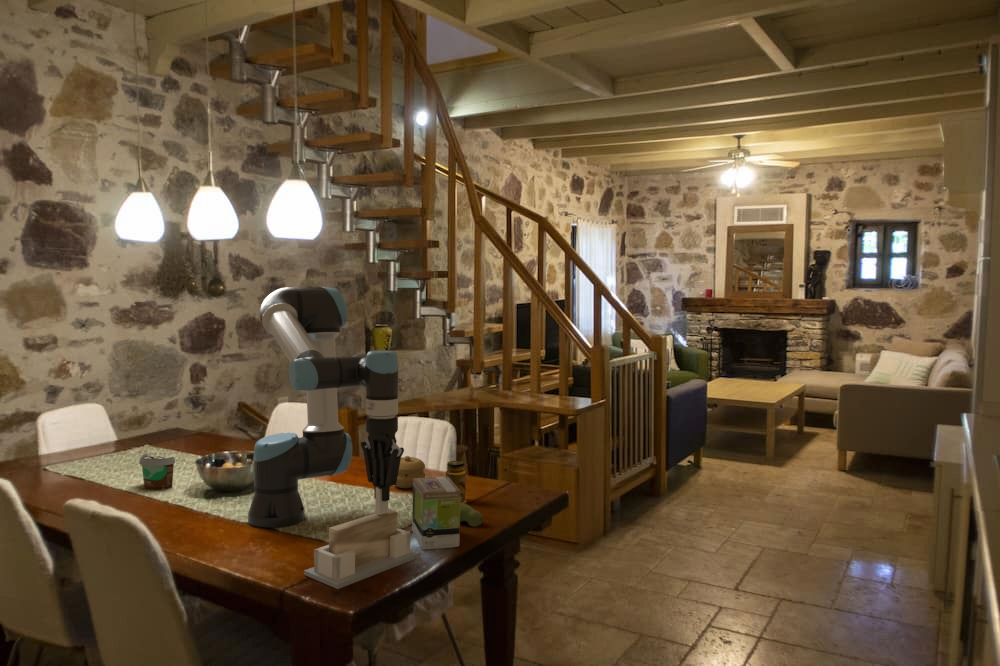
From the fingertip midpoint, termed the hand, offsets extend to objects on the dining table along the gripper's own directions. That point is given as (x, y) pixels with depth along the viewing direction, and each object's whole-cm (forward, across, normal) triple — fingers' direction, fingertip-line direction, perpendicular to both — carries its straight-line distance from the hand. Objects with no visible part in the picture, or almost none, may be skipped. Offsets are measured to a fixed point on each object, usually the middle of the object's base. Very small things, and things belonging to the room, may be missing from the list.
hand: (381, 513), depth 179 cm
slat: (+10, 0, -5) cm, 12 cm away
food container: (+11, -99, -8) cm, 100 cm away
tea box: (+12, 0, +18) cm, 22 cm away
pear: (+12, -3, +34) cm, 36 cm away
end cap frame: (+11, 0, -6) cm, 13 cm away
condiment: (+11, -19, +46) cm, 51 cm away
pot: (+11, -41, +48) cm, 64 cm away
